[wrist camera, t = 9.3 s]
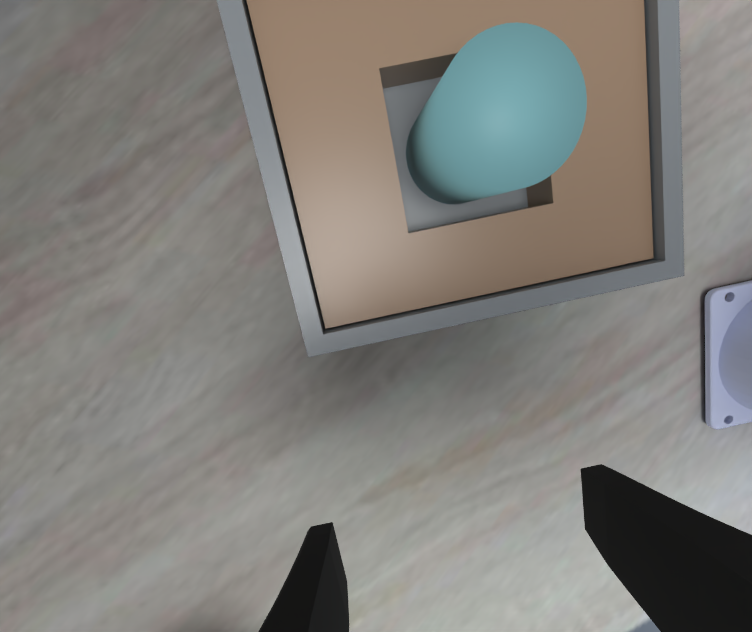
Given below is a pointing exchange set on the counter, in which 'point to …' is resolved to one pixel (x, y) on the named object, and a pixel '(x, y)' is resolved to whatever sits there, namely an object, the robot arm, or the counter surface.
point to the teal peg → (498, 116)
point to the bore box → (439, 220)
